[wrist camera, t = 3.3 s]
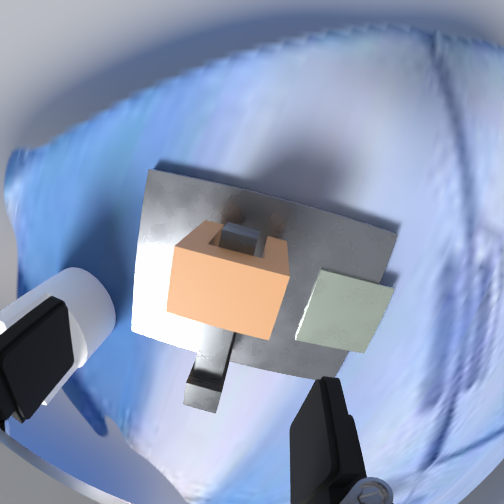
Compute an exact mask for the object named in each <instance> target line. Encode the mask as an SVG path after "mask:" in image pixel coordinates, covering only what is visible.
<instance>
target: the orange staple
mask: <svg viewBox="0 0 504 504" xmlns="http://www.w3.org/2000/svg"><path fill="white" fill-rule="evenodd" d="M223 227H224V224H220V223H216V222H212V221H208V220H205V221H204V222H202V223H201V224H200V225H199V226H198V227H196V228H195V229H194V230H193V231H192V232H190V233H189V234H188V235H187V236H186V237H184V238H183V239H182V240H181V241H180V242H179V243H177V244H176V245H175V246H174V252H173V259H172V265H171V272H170V280H169V287H168V295H167V303H166V312H167V313H171V314H174V315H177V316H180V317H184V318H187V319H190V320H194V321H197V322H201V323H204V324H208V325H211V326H215V327H218V328H222V329H226V330H229V331H233V332H237V333H241V334H245V335H249V336H253V337H257V338H261V339H265V340H269V338H270V335H271V333H272V330H273V327H274V324H275V321H276V318H277V315H278V312H279V309H280V306H281V303H282V300H283V297H284V294H285V290H286V287H287V284H288V281H289V278H290V271H289V260H288V248H287V241H285V240H281V239H277V238H274V237H270V236H268V237H267V241H266V244H265V248H264V252H263V255H262V258H259V257H255V256H251V255H247V254H243V253H240V252H236V251H232V250H228V249H224V248H221V247H218V245H219V241H220V236H221V232H222V229H223Z"/></svg>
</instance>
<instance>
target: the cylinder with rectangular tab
mask: <svg viewBox="0 0 504 504" xmlns="http://www.w3.org/2000/svg"><path fill="white" fill-rule="evenodd" d="M50 296H54V297H56V298H59V299H61V300H63V301H64V302H65V304H66V306H67V307H68V313H69V323H70V332H71V340H72V347H73V354H74V364H73V366H72V367H71V368H70V370H69V371H68V372H67V373H66V374H65V376H64V377H63V378H62V379H61V380H60V382H59V383H58V384H57V385H56V386H55V388H54V389H53V390H52V391H51V393H50V394H49V395H48V396H47V397H46V399H45V400H44V401H43V402H42V404H43V405H47V404H48V403H49V402H50V400H51V399H52V398H53V397H54V396H55V394H56V393H57V392H58V391H59V389H60V388H61V387H62V386H63V385H64V383H65V382H66V381H67V380H68V379H69V377H70V376H71V375H72V374H73V373H74V372H75V370H76V369H77V368H79V367H82V366H83V364H84V363H85V362H86V361H87V360H88V359H89V357H90V356H91V355H92V354H93V353H94V352H95V350H96V349H97V348H98V347H99V346H100V345H101V344H102V342H103V341H104V340H105V339H106V338H107V337H108V336H109V334H110V333H111V332H112V331H113V329H114V326H115V321H116V314H115V309H114V305H113V302H112V300H111V297H110V295H109V294H108V292H107V290H106V289H105V287H104V286H103V285H102V284H101V283H100V281H99V280H98V279H97V278H96V277H94V276H93V275H92V274H90V273H89V272H88V271H85V270H83V269H81V268H75V267H70V268H66V269H64V270H62V271H61V272H59V273H58V274H56V275H54V276H53V277H51V278H49V279H48V280H46V281H45V282H43V283H42V284H40V285H38V286H37V287H35V288H34V289H32V290H31V291H29V292H28V293H26V294H25V295H23V296H22V297H20V298H19V299H17V300H16V301H14V302H13V303H11V304H10V305H8V306H7V307H5V308H4V309H3V310H1V311H0V335H1V334H2V333H3V332H4V331H5V330H7V329H8V328H9V327H10V326H12V325H13V324H14V323H16V322H17V321H18V320H19V319H21V318H22V317H23V316H24V315H26V314H27V313H28V312H30V311H31V310H32V309H34V308H35V307H36V306H38V305H39V304H40V303H42V302H43V301H44V300H46V299H47V298H49V297H50Z"/></svg>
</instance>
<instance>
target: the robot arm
mask: <svg viewBox="0 0 504 504" xmlns="http://www.w3.org/2000/svg"><path fill="white" fill-rule="evenodd" d="M73 364H74V354H73V347H72V340H71V332H70V323H69V313H68V307H67V306H66V304H65V302H64V301H63V300H61V299H59V298H56V297H54V296H50V297H49V298H47V299H46V300H44V301H43V302H42V303H40V304H39V305H38V306H36V307H35V308H34V309H32V310H31V311H30V312H28V313H27V314H26V315H24V316H23V317H22V318H21V319H19V320H18V321H17V322H16V323H14V324H13V325H12V326H10V327H9V328H8V329H7V330H5V331H4V332H3V333H2V334H1V335H0V504H132V503H130V502H127V501H124V500H122V499H119V498H117V497H115V496H112V495H110V494H107V493H105V492H103V491H101V490H98V489H96V488H94V487H92V486H90V485H88V484H86V483H84V482H82V481H80V480H78V479H76V478H74V477H73V476H71V475H69V474H67V473H65V472H63V471H62V470H60V469H58V468H57V467H55V466H53V465H51V464H50V463H48V462H47V461H45V460H43V459H42V458H40V457H39V456H37V455H35V454H34V453H33V452H31V451H30V450H28V449H27V448H25V447H24V446H22V445H21V444H19V443H18V442H17V441H16V440H14V439H13V438H11V437H10V429H9V417H10V416H11V415H12V417H14V418H15V419H16V420H18V421H19V422H20V423H23V422H24V421H25V420H26V419H30V418H31V416H32V415H33V414H34V413H35V411H36V410H37V409H38V408H39V406H40V405H41V404H42V402H43V401H44V400H45V399H46V397H47V396H48V395H49V394H50V393H51V391H52V390H53V389H54V388H55V386H56V385H57V384H58V383H59V382H60V380H61V379H62V378H63V377H64V376H65V374H66V373H67V372H68V371H69V370H70V368H71V367H72V366H73ZM290 485H291V504H393V503H392V502H393V492H392V489H391V488H390V486H389V485H388V484H387V483H386V482H385V481H383V480H381V479H379V478H374V477H368V478H367V475H366V470H365V466H364V461H363V457H362V452H361V448H360V443H359V439H358V435H357V430H356V426H355V422H354V419H353V417H352V416H351V415H348V411H347V407H346V403H345V399H344V395H343V390H342V386H341V382H340V380H339V378H334V377H327V376H323V377H322V378H321V379H317V380H316V381H315V382H314V384H313V386H312V388H311V390H310V392H309V394H308V395H307V397H306V399H305V401H304V403H303V405H302V406H301V408H300V410H299V412H298V414H297V415H296V417H295V419H294V421H293V422H292V424H291V427H290Z"/></svg>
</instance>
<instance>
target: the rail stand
mask: <svg viewBox="0 0 504 504" xmlns="http://www.w3.org/2000/svg"><path fill="white" fill-rule="evenodd" d="M205 220H208V221H212V222H216V223H220V224H224V227H223V229H222V232H221V236H220V241H219V245H218V247H221V248H224V249H228V250H232V251H236V252H240V253H243V254H247V255H251V256H255V257H259V258H262V255H263V252H264V248H265V244H266V241H267V237H268V236H270V237H274V238H277V239H281V240H285V241H287V248H288V260H289V271H290V278H289V281H288V284H287V287H286V290H285V294H284V297H283V300H282V303H281V306H280V309H279V312H278V315H277V318H276V321H275V324H274V327H273V330H272V333H271V335H270V338H269V340H265V339H261V338H257V337H253V336H249V335H245V334H241V333H237V332H233V331H229V330H226V329H222V328H218V327H215V326H211V325H208V324H204V323H201V322H197V321H194V320H190V319H187V318H184V317H180V316H177V315H174V314H171V313H167V312H166V303H167V295H168V287H169V280H170V272H171V265H172V259H173V252H174V246H175V245H176V244H177V243H179V242H180V241H181V240H182V239H183V238H184V237H186V236H187V235H188V234H189V233H190V232H192V231H193V230H194V229H195V228H196V227H198V226H199V225H200V224H201V223H202V222H204V221H205ZM397 236H398V235H397V234H396V233H395V232H392V231H389V230H386V229H383V228H380V227H377V226H374V225H371V224H368V223H365V222H362V221H359V220H355V219H352V218H349V217H346V216H342V215H339V214H336V213H332V212H329V211H326V210H322V209H319V208H315V207H312V206H308V205H305V204H301V203H298V202H294V201H290V200H287V199H283V198H279V197H275V196H272V195H268V194H264V193H260V192H256V191H252V190H248V189H244V188H240V187H236V186H232V185H228V184H223V183H219V182H215V181H210V180H206V179H201V178H197V177H192V176H188V175H183V174H178V173H173V172H168V171H163V170H158V169H149V170H148V176H147V182H146V187H145V194H144V200H143V207H142V214H141V221H140V229H139V237H138V246H137V256H136V267H135V279H134V294H133V314H132V331H134V332H137V333H139V334H142V335H145V336H148V337H151V338H154V339H157V340H160V341H163V342H166V343H169V344H172V345H175V346H178V347H181V348H184V349H188V350H191V351H194V352H197V356H196V360H195V362H194V365H193V367H192V370H191V372H190V375H189V377H188V379H187V382H186V387H185V394H184V401H183V404H184V405H187V406H191V407H194V408H198V409H201V410H205V411H208V412H212V413H216V411H217V407H218V403H219V400H220V396H221V393H222V389H223V385H224V381H225V377H226V373H227V369H228V365H229V361H230V362H234V363H238V364H242V365H246V366H251V367H255V368H259V369H264V370H268V371H273V372H277V373H282V374H287V375H292V376H297V377H303V378H308V379H314V380H317V379H321V378H322V377H323V376H327V377H334V378H335V376H336V374H337V372H338V371H339V369H340V367H341V365H342V363H343V361H344V359H345V357H346V355H347V353H348V352H349V351H354V352H359V353H364V352H365V350H366V349H367V347H368V345H369V343H370V341H371V339H372V337H373V335H374V333H375V331H376V329H377V327H378V325H379V323H380V321H381V319H382V316H383V314H384V312H385V310H386V308H387V306H388V303H389V301H390V299H391V297H392V294H393V292H394V290H395V289H394V288H393V287H389V286H385V285H381V284H380V281H381V279H382V276H383V274H384V271H385V269H386V266H387V264H388V261H389V258H390V256H391V253H392V250H393V247H394V245H395V242H396V239H397Z"/></svg>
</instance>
